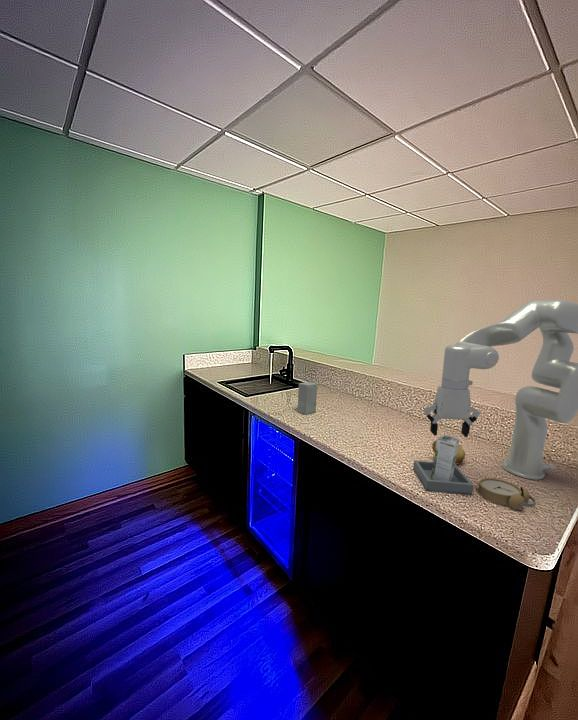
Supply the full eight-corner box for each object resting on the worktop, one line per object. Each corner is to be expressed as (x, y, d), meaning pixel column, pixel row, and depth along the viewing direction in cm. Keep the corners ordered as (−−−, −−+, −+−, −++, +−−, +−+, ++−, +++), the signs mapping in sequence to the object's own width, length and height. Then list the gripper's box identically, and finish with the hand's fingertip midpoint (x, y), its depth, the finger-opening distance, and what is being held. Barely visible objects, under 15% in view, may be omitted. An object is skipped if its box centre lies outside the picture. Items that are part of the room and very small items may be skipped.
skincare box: (305, 415, 167) (307, 385, 164) (296, 411, 172) (297, 382, 169) (316, 412, 172) (318, 383, 170) (307, 408, 178) (309, 380, 175)
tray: (453, 472, 114) (454, 463, 114) (472, 495, 100) (473, 485, 100) (413, 469, 115) (414, 460, 115) (426, 491, 101) (427, 481, 101)
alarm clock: (485, 474, 108) (540, 487, 97) (486, 489, 109) (541, 503, 97) (471, 484, 101) (529, 500, 90) (472, 500, 102) (529, 517, 90)
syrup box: (435, 472, 112) (440, 433, 109) (453, 479, 108) (459, 438, 106) (430, 479, 107) (435, 438, 105) (449, 486, 104) (455, 443, 101)
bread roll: (449, 452, 131) (452, 434, 129) (472, 463, 122) (475, 443, 121) (427, 458, 125) (430, 438, 123) (450, 470, 116) (453, 449, 115)
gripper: (477, 382, 105) (471, 431, 108) (422, 380, 107) (418, 429, 110) (489, 388, 98) (482, 440, 101) (430, 386, 99) (425, 438, 102)
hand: (449, 434), depth 105 cm, fingers open, 9 cm apart
